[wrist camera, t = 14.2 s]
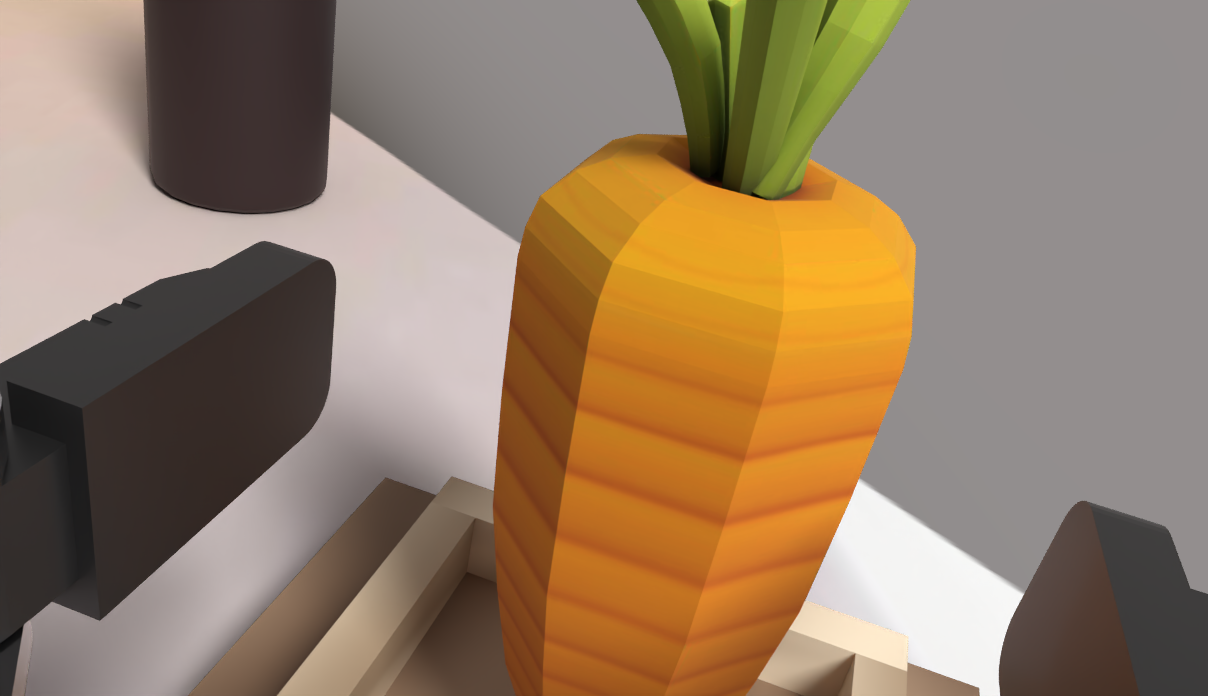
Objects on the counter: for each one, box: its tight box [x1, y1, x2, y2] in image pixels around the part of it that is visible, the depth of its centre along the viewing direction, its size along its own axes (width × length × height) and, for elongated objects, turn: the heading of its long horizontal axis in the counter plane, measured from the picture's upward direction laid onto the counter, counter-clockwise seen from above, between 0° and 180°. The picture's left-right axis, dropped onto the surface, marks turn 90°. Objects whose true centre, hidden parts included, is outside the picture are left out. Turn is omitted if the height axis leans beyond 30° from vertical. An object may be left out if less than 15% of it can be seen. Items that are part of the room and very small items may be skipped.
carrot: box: [493, 0, 916, 696], centre depth 13 cm, size 5×5×15 cm
